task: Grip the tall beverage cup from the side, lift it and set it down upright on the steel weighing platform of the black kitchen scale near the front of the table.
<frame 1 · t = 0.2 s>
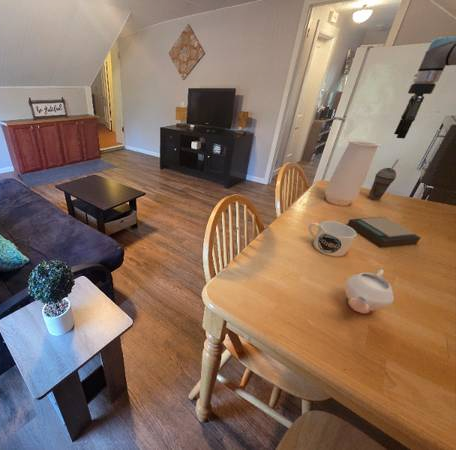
hand: (398, 136, 113), 28 cm above the table, tool pointing down, fingers open, 13 cm apart
scale: (379, 234, 94), on the table
teapot: (357, 306, 65), on the table
beverage cup: (373, 199, 121), on the table
mug: (323, 246, 87), on the table
vase: (337, 201, 118), on the table
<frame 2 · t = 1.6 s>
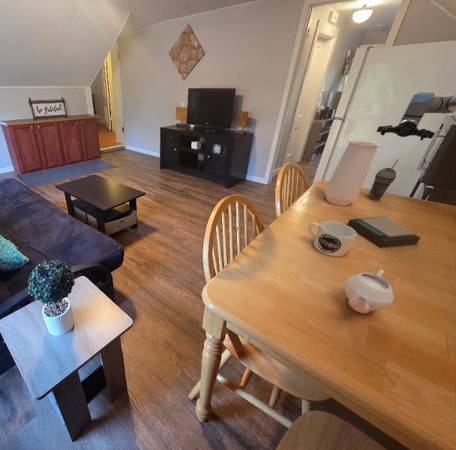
hand: (402, 134, 111), 29 cm above the table, tool horizontal, fingers open, 13 cm apart
nothing on the table moved.
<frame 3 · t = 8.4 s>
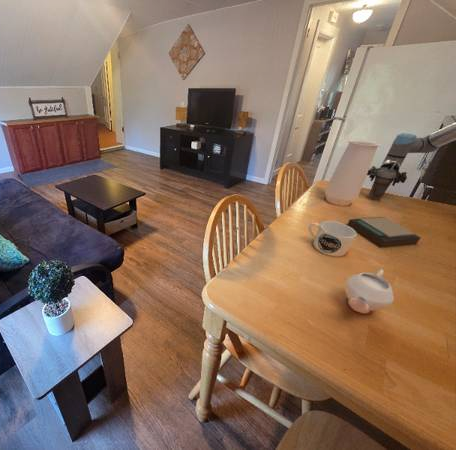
hand: (383, 180, 112), 11 cm above the table, tool horizontal, fingers closed on beverage cup, 7 cm apart
beverage cup: (373, 199, 121), on the table, touching gripper
everything else where it was.
when the fingers open (15 cm above the table, at t = 17.8 s): beverage cup stays where it is, resting on scale.
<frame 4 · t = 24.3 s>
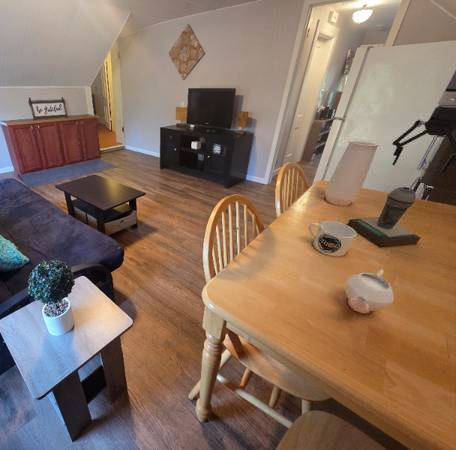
hand: (416, 168, 92), 22 cm above the table, tool pointing down, fingers open, 13 cm apart
beverage cup: (384, 226, 92), point 4 cm above the table, touching scale
everything else where it was.
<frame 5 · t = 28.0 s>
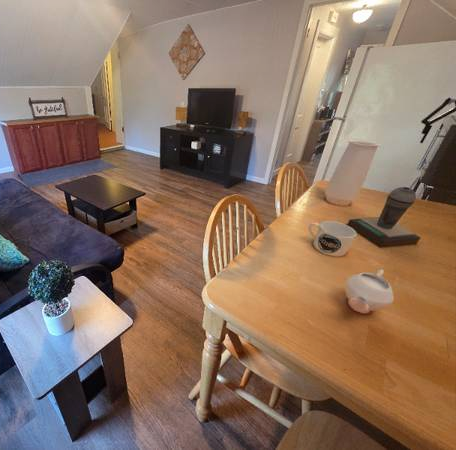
hand: (444, 145, 96), 29 cm above the table, tool pointing down, fingers open, 13 cm apart
nothing on the table moved.
at the end: beverage cup inside the target area on the scale (1.0 cm from its centre), point 3.6 cm above the scale's base; beverage cup tilted 0°; the gripper is holding nothing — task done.
